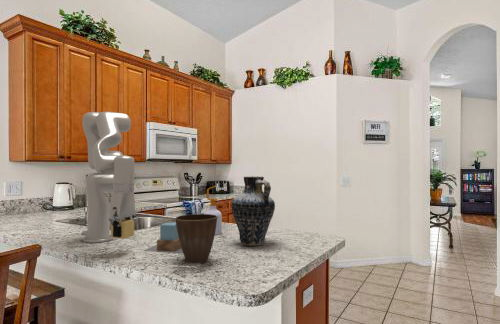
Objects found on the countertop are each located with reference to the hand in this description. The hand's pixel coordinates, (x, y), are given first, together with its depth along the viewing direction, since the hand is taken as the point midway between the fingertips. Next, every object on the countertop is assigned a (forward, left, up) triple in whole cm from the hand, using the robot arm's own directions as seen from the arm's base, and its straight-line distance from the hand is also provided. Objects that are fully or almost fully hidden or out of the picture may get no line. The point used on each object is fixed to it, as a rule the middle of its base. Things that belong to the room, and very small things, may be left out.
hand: (122, 234), depth 124 cm
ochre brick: (0, 0, -1) cm, 1 cm away
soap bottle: (+19, +48, -8) cm, 53 cm away
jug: (+45, +30, -8) cm, 55 cm away
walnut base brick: (+14, +12, -8) cm, 20 cm away
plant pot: (+31, -1, -8) cm, 32 cm away
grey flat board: (+14, +12, -8) cm, 20 cm away
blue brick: (+14, +12, -4) cm, 19 cm away
